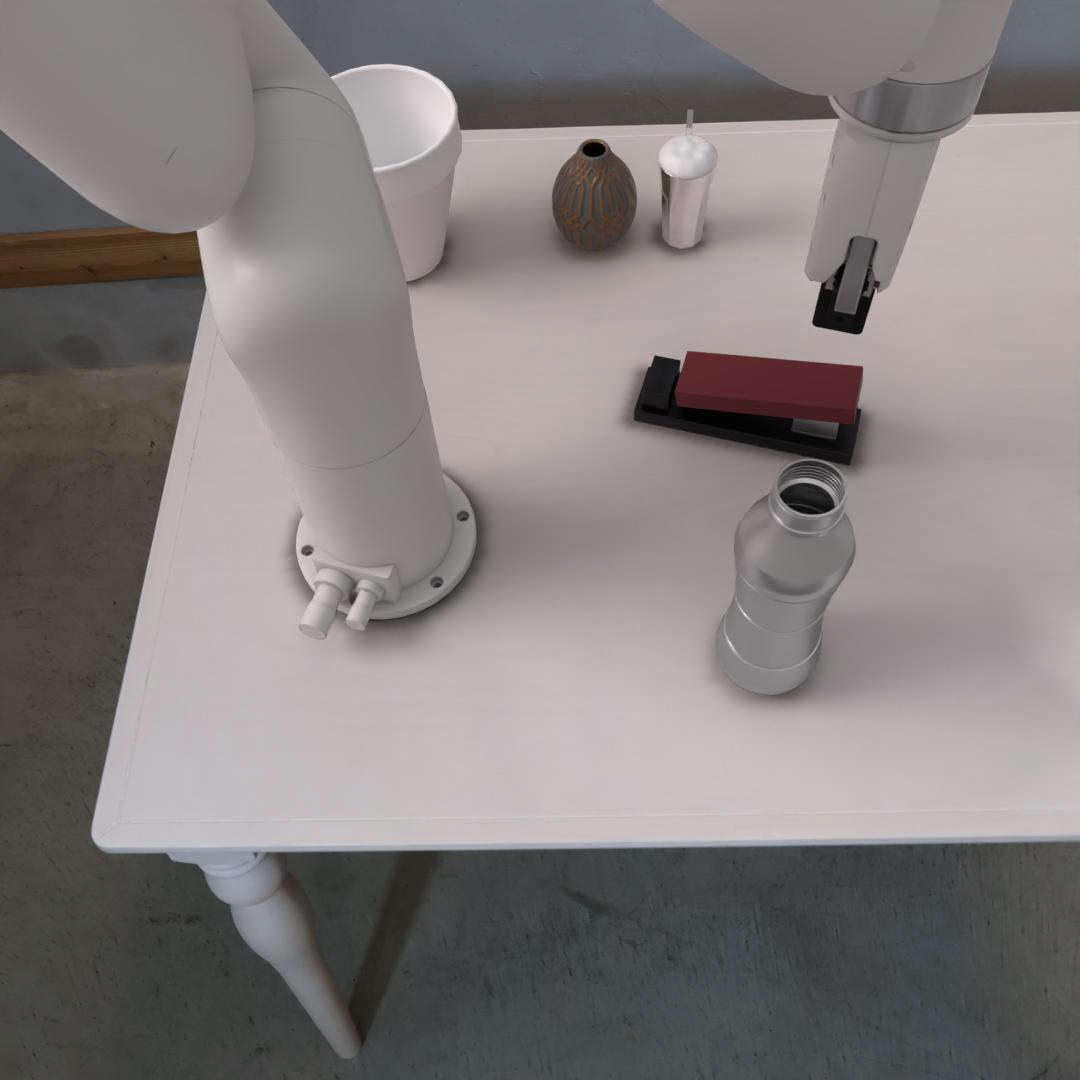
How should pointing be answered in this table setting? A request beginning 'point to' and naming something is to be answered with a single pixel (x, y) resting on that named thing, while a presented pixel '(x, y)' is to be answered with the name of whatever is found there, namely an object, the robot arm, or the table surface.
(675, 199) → the milkshake
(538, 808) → the table surface
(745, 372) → the stapler arm
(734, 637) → the plastic bottle
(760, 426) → the stapler base
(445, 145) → the cup
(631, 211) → the vase
